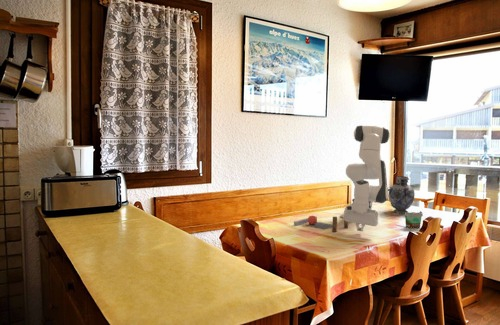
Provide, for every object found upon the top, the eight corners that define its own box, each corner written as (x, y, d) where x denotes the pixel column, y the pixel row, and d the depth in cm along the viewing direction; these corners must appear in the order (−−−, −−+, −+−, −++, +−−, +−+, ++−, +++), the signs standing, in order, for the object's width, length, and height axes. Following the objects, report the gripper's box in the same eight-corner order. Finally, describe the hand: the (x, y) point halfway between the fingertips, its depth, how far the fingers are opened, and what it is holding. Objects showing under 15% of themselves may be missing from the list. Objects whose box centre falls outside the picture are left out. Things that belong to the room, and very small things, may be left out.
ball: (304, 219, 245) (309, 214, 241) (309, 218, 249) (315, 213, 245) (309, 227, 242) (314, 222, 238) (314, 225, 246) (320, 220, 242)
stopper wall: (293, 225, 241) (294, 221, 241) (314, 219, 259) (314, 216, 259) (296, 225, 240) (296, 222, 239) (316, 220, 257) (316, 216, 257)
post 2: (343, 227, 237) (343, 213, 237) (345, 227, 239) (345, 213, 239) (346, 228, 236) (347, 214, 235) (348, 227, 238) (349, 213, 237)
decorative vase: (392, 208, 307) (395, 174, 304) (416, 212, 295) (419, 176, 293) (383, 212, 290) (385, 176, 288) (408, 216, 279) (410, 178, 276)
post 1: (331, 231, 227) (331, 216, 226) (333, 230, 229) (334, 216, 228) (335, 232, 225) (335, 217, 224) (337, 231, 227) (337, 217, 226)
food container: (410, 229, 237) (410, 213, 236) (403, 227, 243) (404, 211, 242) (426, 228, 240) (427, 213, 240) (419, 226, 246) (420, 211, 246)
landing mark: (305, 225, 241) (305, 225, 241) (317, 222, 251) (317, 221, 251) (324, 229, 232) (324, 229, 232) (335, 225, 242) (335, 225, 242)
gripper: (380, 209, 218) (379, 233, 219) (348, 205, 231) (347, 227, 232) (375, 211, 213) (374, 235, 214) (343, 206, 227) (342, 228, 228)
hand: (360, 231), depth 223 cm, fingers closed
